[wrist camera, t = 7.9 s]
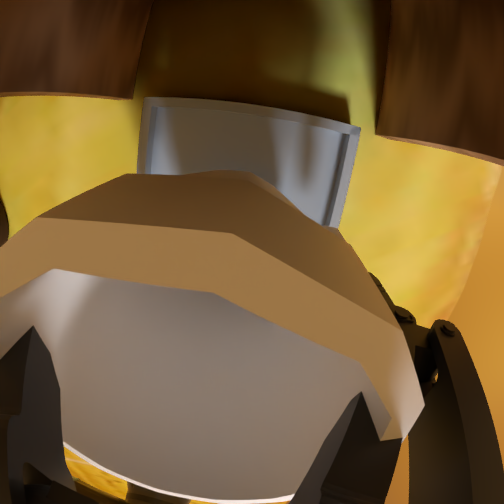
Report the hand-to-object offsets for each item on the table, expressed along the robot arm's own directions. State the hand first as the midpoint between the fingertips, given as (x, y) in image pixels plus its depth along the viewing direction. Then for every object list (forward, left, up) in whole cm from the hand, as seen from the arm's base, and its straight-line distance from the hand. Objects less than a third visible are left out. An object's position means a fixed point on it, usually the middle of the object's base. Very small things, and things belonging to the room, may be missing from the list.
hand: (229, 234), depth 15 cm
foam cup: (0, 0, -2) cm, 2 cm away
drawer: (-3, 0, -5) cm, 6 cm away
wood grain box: (+14, 0, -5) cm, 15 cm away
